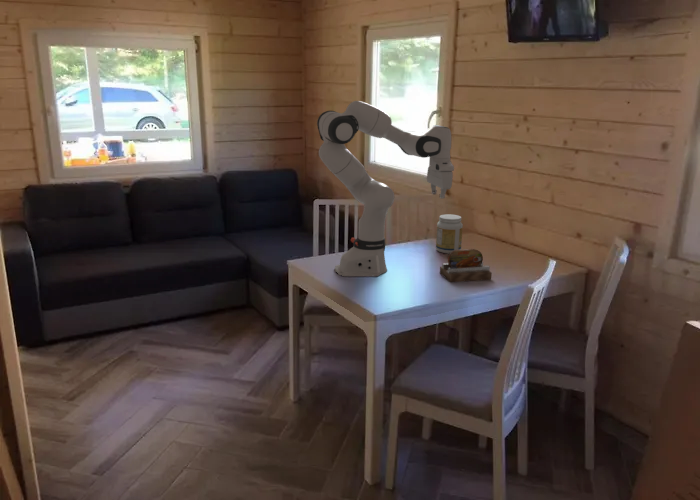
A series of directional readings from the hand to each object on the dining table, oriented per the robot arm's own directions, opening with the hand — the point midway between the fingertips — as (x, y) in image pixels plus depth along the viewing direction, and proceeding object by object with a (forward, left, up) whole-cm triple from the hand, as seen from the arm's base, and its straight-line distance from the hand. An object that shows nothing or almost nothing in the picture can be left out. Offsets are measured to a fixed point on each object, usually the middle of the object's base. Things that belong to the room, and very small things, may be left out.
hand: (437, 196), depth 260 cm
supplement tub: (+15, +20, -31) cm, 40 cm away
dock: (+7, -18, -31) cm, 37 cm away
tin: (+7, -17, -28) cm, 34 cm away
